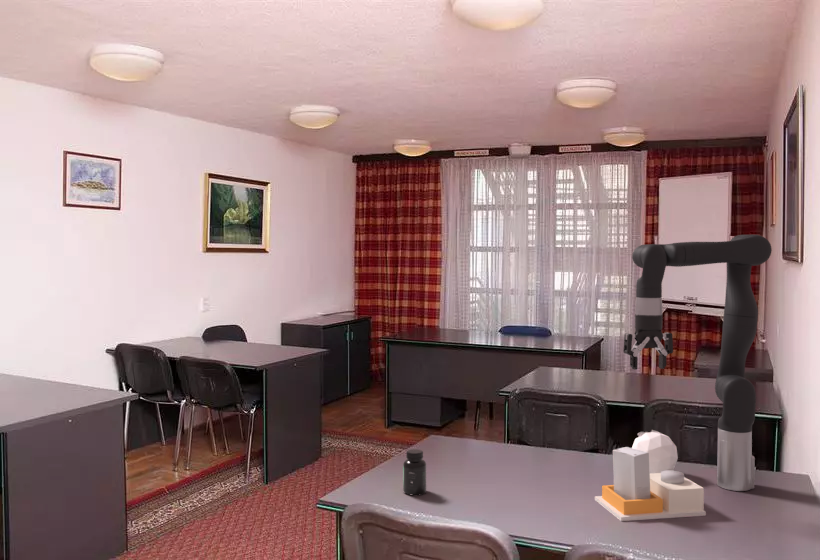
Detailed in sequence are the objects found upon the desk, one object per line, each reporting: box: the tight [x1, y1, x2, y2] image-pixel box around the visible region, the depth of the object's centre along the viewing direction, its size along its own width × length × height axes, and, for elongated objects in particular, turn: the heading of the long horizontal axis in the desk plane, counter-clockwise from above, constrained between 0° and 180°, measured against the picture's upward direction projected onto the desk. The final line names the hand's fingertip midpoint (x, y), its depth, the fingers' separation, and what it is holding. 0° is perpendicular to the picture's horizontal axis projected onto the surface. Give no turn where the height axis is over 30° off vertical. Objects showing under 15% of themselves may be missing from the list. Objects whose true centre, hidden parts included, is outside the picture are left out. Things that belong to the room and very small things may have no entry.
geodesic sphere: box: [631, 429, 679, 473], centre depth 217 cm, size 15×14×14 cm
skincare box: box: [612, 446, 651, 500], centre depth 188 cm, size 8×6×15 cm
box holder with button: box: [594, 470, 707, 522], centre depth 189 cm, size 24×16×9 cm, turn 99°
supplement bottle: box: [402, 448, 427, 496], centre depth 201 cm, size 7×7×12 cm
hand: (648, 368), depth 201 cm, fingers open, 8 cm apart
